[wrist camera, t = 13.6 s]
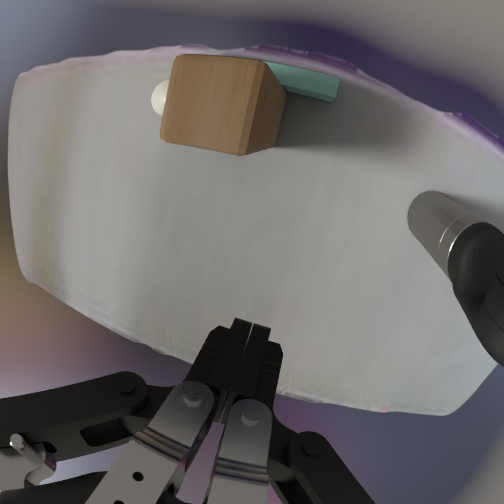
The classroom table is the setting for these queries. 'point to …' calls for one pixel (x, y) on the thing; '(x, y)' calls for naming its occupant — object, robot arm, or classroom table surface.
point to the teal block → (306, 82)
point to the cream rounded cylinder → (160, 97)
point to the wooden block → (222, 104)
